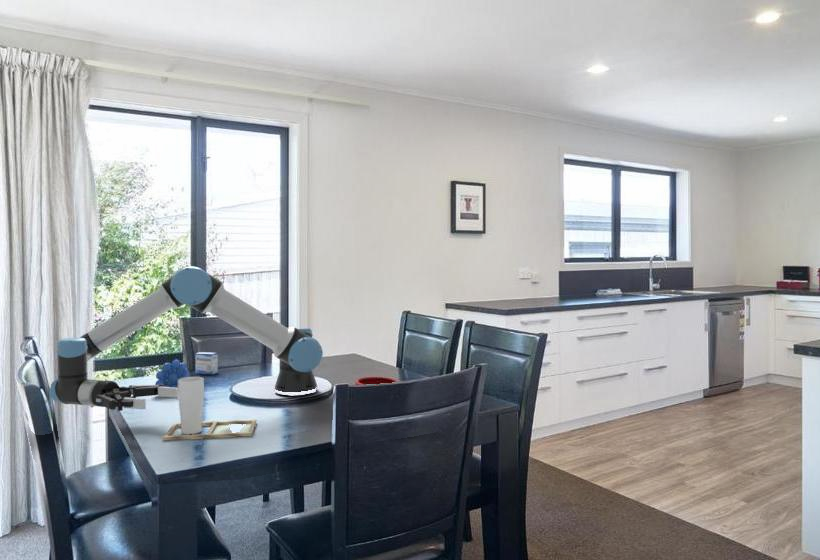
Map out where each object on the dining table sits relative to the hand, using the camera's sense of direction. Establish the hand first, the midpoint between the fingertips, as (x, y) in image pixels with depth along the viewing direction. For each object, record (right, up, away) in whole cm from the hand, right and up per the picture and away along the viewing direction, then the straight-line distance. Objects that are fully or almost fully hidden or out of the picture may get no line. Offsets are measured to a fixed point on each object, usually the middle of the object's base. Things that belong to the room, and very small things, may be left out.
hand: (161, 398), depth 161 cm
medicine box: (-15, -6, +79) cm, 81 cm away
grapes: (-16, -7, +44) cm, 48 cm away
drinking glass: (+9, -9, -2) cm, 13 cm away
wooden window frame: (+15, -9, -1) cm, 17 cm away
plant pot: (+60, -9, +11) cm, 62 cm away
